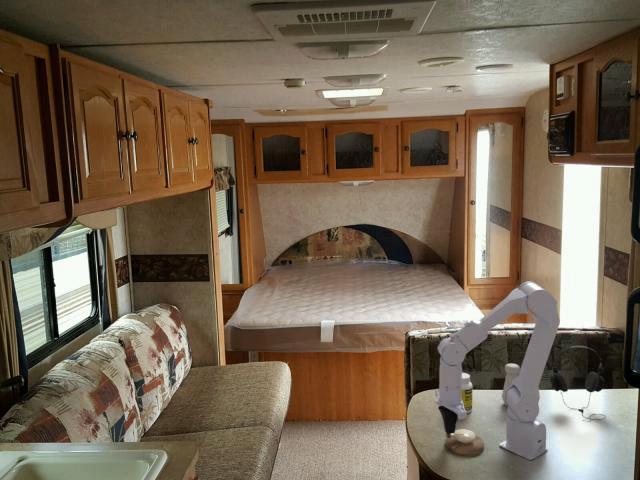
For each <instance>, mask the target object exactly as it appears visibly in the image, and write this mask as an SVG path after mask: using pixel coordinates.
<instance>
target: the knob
mask: <svg viewBox="0 0 640 480" xmlns="http://www.w3.org/2000/svg"><path fill="white" fill-rule="evenodd" d="M476 436H477V435H476V433H475V432H474V431H472V430H470V429H464V428H459V429H457V430H456V429H455V433H451V434H447V433H446V432H445V438H446V437H447V438H455V439H456V440H458V441H460V442H465V443H468V442H473V441H474V440H475V438H476Z"/></svg>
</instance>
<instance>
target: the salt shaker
mask: <svg viewBox="0 0 640 480" xmlns="http://www.w3.org/2000/svg"><path fill="white" fill-rule="evenodd" d="M520 369H521V366H520V365H518V364H516V363H513V362H512V363H507V364H505V366H504V371H505V373H506V376H505V380H504V385H503V389H502V393H501V398H502V400H503V403H504V405H505V406H506V407H507V408H508V407H509V405H508V404H507V402H506V401H505V398H504V395H505V391H506V390H507V388H509V387H510V385H511V384H512V381H513V379H515V378H516V377H518V375H519V372H520Z"/></svg>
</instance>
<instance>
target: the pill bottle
mask: <svg viewBox="0 0 640 480" xmlns="http://www.w3.org/2000/svg"><path fill="white" fill-rule="evenodd" d="M462 402H463V405H464V409H465V410H466V411H467V414H469V413H471V412H472V411H473V383H472V382H471V375H470V374H469V373H466V372H462Z"/></svg>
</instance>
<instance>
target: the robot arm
mask: <svg viewBox="0 0 640 480" xmlns="http://www.w3.org/2000/svg"><path fill="white" fill-rule="evenodd" d="M557 304H558V301H557V300H556V299H555V297H554V296H553V294H552V293H551V292H549V290H547V289H545V288H543V287H541V286H540V285H539V284H538V283H536V282H534V281H525V282H523V283H520V285H519V286H518V287H516V288H514V289H513V290H512V291H510V293H509V294H508V295H507V296H506V297H505V298H504V299H502V301H500V302H499V303H498V304H496V306H495V307H494V308H492V309H491V310H490V311H489V312H487V314H485V315H484V316H483V317H482V318H481V319H479V320H478V319H477V320H476V319H472V320H470V321H465V322H464V323H463V325H464V326H463V327H461V328H460V329H459V330H457V332H455V333H450V334H449V337H444V338H442V339H441V340H440V341H439V344H438V345H437V351H438V353H439V355H440V358H439V376H438V377H439V378H438V379H439V386H438V387H439V388H435V396H436V398H437V399H435V400H434V403H435V404H436V406H437V407H438V408H437V409H438V411H439V412H440V414H441V417H442V420H443V426H444V432H445V434H446V433H447V434H451V433H455V431H456V428H457V422H458V420H465V419H466V420H467V415H468V413H467V411H466V410H465V409H464V405H463V402H462V373H463V368H462V363H463V362H464V360H465V359H466V355H467V353H469V352H470V351H471V350H473V349H475V348H476V347H477V346H479V345H480V344H481V343H482V342H484V341H485V340H486V339H487V338H488V334H489V332H490V331H491V330H492V329H493V328H496V326H498V325H500V324H501V323H502V322H504V321H505V320H507V319H508V318H510V317H511V316H513V315H514V314H520V315H529V312H530V314H531V315H532V316H533V318H534V320H535V325H534V326H533V327H534V328H533V331H532V334H531V336H530V338H529V339H530V340H529V343H528V346H527V348H526V352H525V355H524V357H523V360H522V363H521V366H520V372H519V373H518V374H517V375H518V377H516V378H515V379H513V381H512V384H511V385H510V387H509V388H507V390H506V391H505V395H504V398H505V401H506V402H507V404H508V405H509V407H507V410H506V426H505V427H506V428H505V429H506V434H505V435H506V436H505V439H506V440H503V442H500V443H499V447H500V448H503V449H505V450H507V451H509V452H512V453H514V454H516V455H518V456H520V457H522V458H525V459H527V460H530V461H532V460H534V459H536V458H537V457H539V456H540V455H542V454H543V453H545V452H547V451H548V447H547V427H546V424H545V423H544V422H541V420H539V419H538V418H537V417H538V416H539V413H540V406H539V402H540V400H541V399H540V398H541V395H540V389H539V387H540V386H539V385H540V382H541V379H542V377H543V374H544V370H545V367H546V365H547V361H548V359H549V357H550V354H551V349H552V346H553V343H554V341H555V338H556V336H557V335H556V334H557V333H558V330H559V326H560V322H561V321H560V316H559V310H558V307H557Z"/></svg>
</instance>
